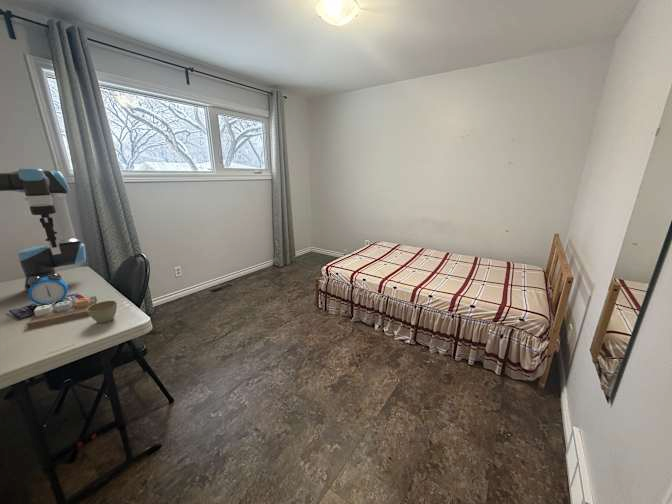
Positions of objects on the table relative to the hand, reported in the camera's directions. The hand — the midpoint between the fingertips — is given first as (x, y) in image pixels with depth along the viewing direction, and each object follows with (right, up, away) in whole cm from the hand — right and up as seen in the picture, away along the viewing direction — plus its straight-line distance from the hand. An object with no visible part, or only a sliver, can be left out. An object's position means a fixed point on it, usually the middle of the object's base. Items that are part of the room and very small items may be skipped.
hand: (56, 250), depth 125 cm
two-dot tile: (+5, -27, 0) cm, 27 cm away
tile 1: (-1, -28, -4) cm, 28 cm away
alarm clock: (-12, -26, +10) cm, 31 cm away
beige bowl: (+29, -31, -6) cm, 43 cm away
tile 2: (+10, -26, +3) cm, 28 cm away
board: (+5, -29, 0) cm, 29 cm away
